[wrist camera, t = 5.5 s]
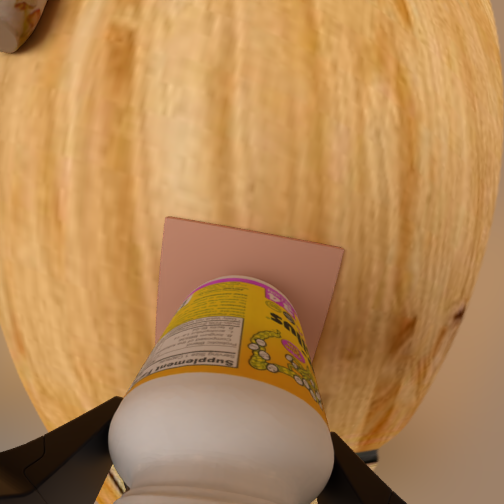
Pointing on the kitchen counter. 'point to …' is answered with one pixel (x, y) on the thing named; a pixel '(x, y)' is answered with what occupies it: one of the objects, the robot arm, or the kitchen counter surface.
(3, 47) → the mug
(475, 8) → the kitchen counter surface
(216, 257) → the mat
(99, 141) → the kitchen counter surface
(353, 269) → the kitchen counter surface
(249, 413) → the supplement bottle
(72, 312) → the kitchen counter surface
